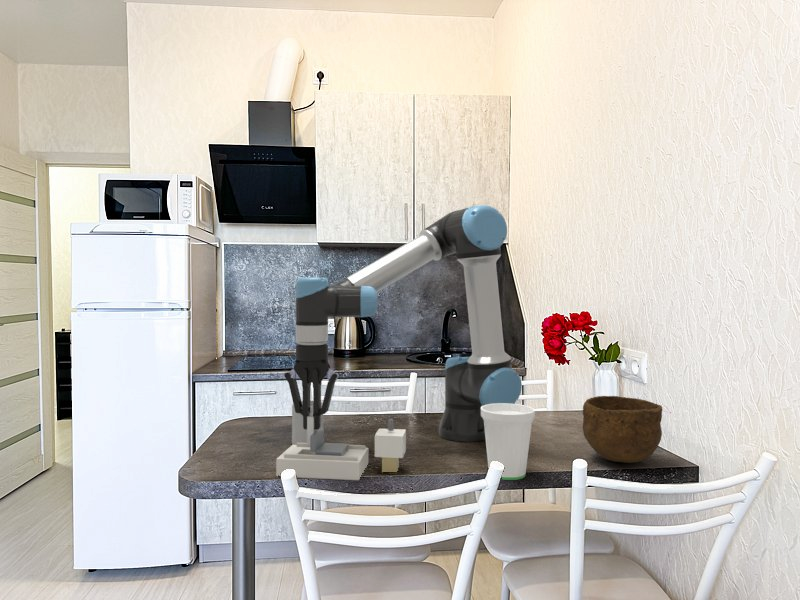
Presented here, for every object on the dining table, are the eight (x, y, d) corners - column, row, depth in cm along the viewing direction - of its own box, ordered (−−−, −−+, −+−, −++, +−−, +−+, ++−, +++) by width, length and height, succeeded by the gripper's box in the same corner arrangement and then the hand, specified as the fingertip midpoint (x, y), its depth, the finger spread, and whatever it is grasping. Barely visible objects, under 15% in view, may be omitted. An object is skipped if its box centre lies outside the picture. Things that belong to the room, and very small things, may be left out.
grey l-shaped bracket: (348, 448, 139) (348, 429, 139) (341, 457, 132) (341, 437, 132) (318, 447, 140) (318, 428, 140) (310, 456, 133) (310, 436, 133)
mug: (320, 447, 155) (320, 406, 155) (288, 447, 156) (288, 406, 155) (327, 436, 167) (327, 398, 167) (298, 435, 168) (298, 397, 167)
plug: (405, 466, 139) (406, 416, 139) (402, 475, 133) (402, 422, 133) (379, 465, 140) (379, 415, 140) (374, 474, 134) (374, 421, 133)
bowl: (673, 476, 134) (674, 411, 133) (588, 471, 137) (589, 408, 136) (651, 453, 152) (652, 396, 152) (577, 449, 155) (577, 393, 155)
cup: (516, 487, 125) (517, 416, 125) (469, 474, 134) (469, 408, 133) (544, 473, 135) (545, 408, 134) (498, 462, 143) (498, 400, 143)
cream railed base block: (368, 464, 141) (368, 444, 141) (358, 480, 129) (358, 458, 129) (292, 460, 144) (292, 441, 143) (276, 476, 132) (276, 455, 131)
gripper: (342, 342, 139) (342, 439, 140) (290, 341, 141) (290, 437, 141) (335, 345, 132) (335, 448, 132) (279, 344, 133) (279, 446, 134)
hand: (311, 442), depth 137 cm, fingers closed
